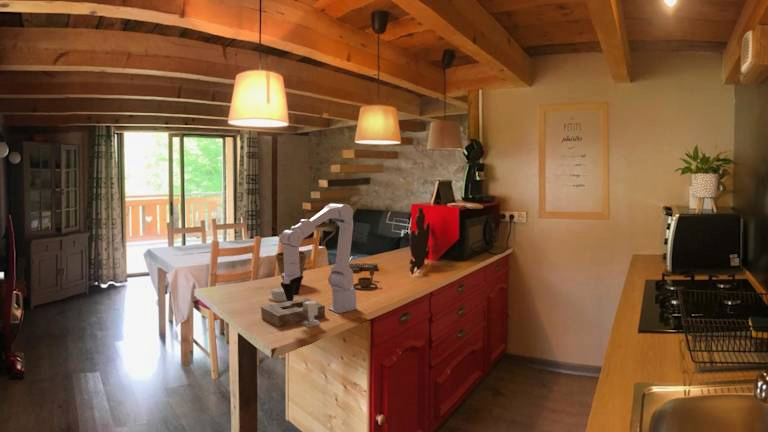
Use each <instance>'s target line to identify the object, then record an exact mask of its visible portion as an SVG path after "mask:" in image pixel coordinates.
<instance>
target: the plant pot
mask: <svg viewBox="0 0 768 432" xmlns="http://www.w3.org/2000/svg"><path fill="white" fill-rule="evenodd" d="M275 257H276V262H277V263H276V264H277V266H278V267H277V269H278V271H279V273H280V276H281V274H282V273H284V253H283V251H281V252H278V253H276V254H275ZM306 258H307V253H306V252H305V251H301V250H299V264H300V276H303V275H304V271H305V264H306ZM281 279H282V282H284V276H281Z"/></svg>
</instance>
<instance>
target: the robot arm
mask: <svg viewBox="0 0 768 432" xmlns="http://www.w3.org/2000/svg"><path fill="white" fill-rule="evenodd" d="M353 217H354V209H353V208H352V206H351V205H349V204H347V203H334V202H330V203H329V204H327V205H325V206H324V207H323V209H322V210H320V211H319V212H318V213H316V214H315V215H314V216H312V217H311V218H310V219H307V218H305V219H300V221H299V223H298V224H296V225H293V226H291V227H290V229H285V230H284V231H283V232H282V233H281V235H280V237H279V242H280V243H281V245H282V250H283V251H282V252H283V253H284V273H282V274H280V276H284V282H283V281H281V282H280V286H281V288H283V290H284V292H285V296H286V299H287V301H286V302H288V301H293V300H294V296H299V294H300V290H301V284H302V282H303V279H304V276H303V275H302V276H300V264H299V251H300V245H301V243H302V241H303V240H304V239H305V238H306V237H308V236H310V235H311V234H312V233H314V232H315V228H316V227H318V226H319V225H320V224H323V223H324V222H325V221H327V220H329V219H330V220H332V221H333V222H335V223H336V224H337V225H338V227H339V231H338V239H337V249H336V257H335V258H336V259H335V264H334V265H333V266H332V267H331V269H330V273H329V275H328V278H327V281H328V284H329V285H330V289H331V290H332V294H331V295H332V307H328V310H330V311H332V312H334V313H337V314H342V313H347V312H351V311H354V310H357V309H358V307H357V292H356V289H354V288H353V285H354V284H355V283H354V282H355V281H354V279H355V278H354V271H353V269H352V268H351V267H350V257H351V249H352V241H353V231H354V219H353Z"/></svg>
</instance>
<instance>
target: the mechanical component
mask: <svg viewBox="0 0 768 432" xmlns="http://www.w3.org/2000/svg"><path fill="white" fill-rule="evenodd" d="M268 301H271V302H279V303H280V302H288V301H287V299H286V296H285V292H284V290H283V288H282V287H278V288H273V289H271V294H270V295H269V296H268Z"/></svg>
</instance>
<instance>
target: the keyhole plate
mask: <svg viewBox="0 0 768 432" xmlns="http://www.w3.org/2000/svg"><path fill="white" fill-rule="evenodd" d="M307 301H314V302H316V301H315V300H312V299H310V298H308V297H303V298H298V299H293V301H282V302H279V303H274V304H273V303H272V304H268V305H263V306H261V307H260V311H261V312H260V313H261V319H263V320H265V321H266V322H268V323H270V324H271V325H274V326H276V327H278V328H282V327H286V326H290V325H295V324H299V323H301V321H304V320H307V316H306V315H304V314H303V302H307ZM317 306H318V315H314V319H315V320H317V319H321V318H325V316H326V308H325V307H326V305H324V304H321V303H319V302H317Z"/></svg>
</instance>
